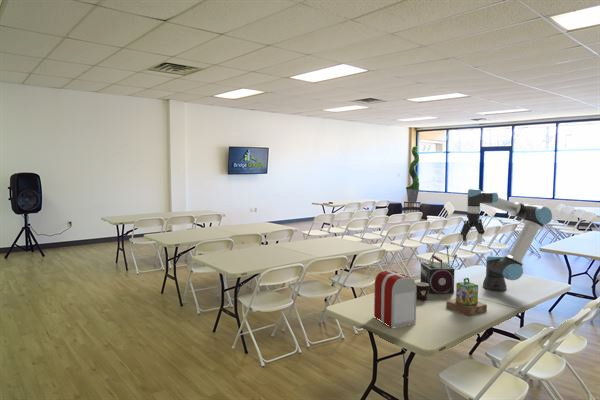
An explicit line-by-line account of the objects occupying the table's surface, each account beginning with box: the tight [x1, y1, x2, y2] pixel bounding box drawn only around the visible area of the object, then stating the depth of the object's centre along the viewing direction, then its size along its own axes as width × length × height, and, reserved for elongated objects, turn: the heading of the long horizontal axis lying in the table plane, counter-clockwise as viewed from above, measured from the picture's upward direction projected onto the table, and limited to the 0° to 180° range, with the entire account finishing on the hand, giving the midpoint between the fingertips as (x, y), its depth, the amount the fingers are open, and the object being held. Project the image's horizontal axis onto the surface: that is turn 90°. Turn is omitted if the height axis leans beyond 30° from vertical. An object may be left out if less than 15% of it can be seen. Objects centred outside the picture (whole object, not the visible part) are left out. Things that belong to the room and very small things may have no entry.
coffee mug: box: [415, 281, 429, 302], centre depth 256 cm, size 12×9×10 cm
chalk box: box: [455, 277, 479, 306], centre depth 238 cm, size 9×9×15 cm
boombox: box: [419, 245, 458, 295], centre depth 274 cm, size 18×21×30 cm
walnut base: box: [445, 298, 488, 317], centre depth 238 cm, size 16×16×4 cm
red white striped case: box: [373, 269, 417, 329], centre depth 220 cm, size 16×18×27 cm
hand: (472, 244), depth 259 cm, fingers open, 13 cm apart
